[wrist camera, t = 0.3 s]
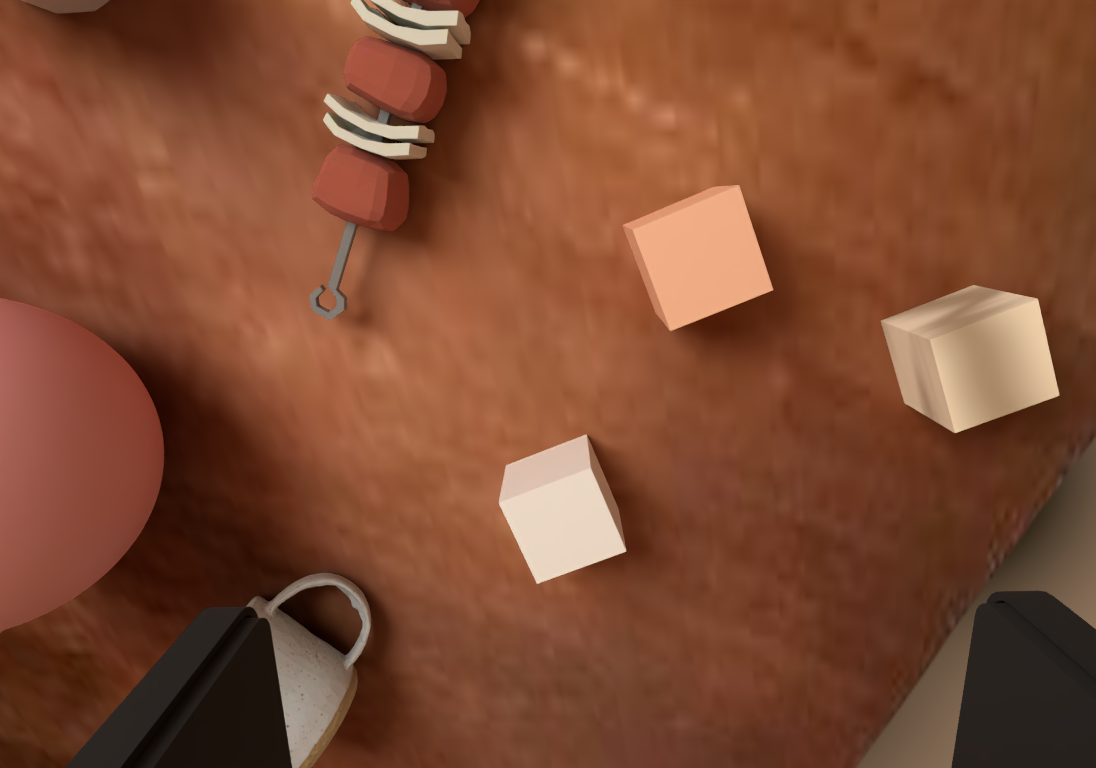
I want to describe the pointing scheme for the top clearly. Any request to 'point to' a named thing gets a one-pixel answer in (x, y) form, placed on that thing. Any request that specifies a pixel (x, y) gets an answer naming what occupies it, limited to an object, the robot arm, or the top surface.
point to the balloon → (68, 460)
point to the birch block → (971, 356)
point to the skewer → (385, 117)
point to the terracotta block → (699, 256)
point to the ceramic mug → (312, 670)
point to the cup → (68, 5)
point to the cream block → (561, 509)
